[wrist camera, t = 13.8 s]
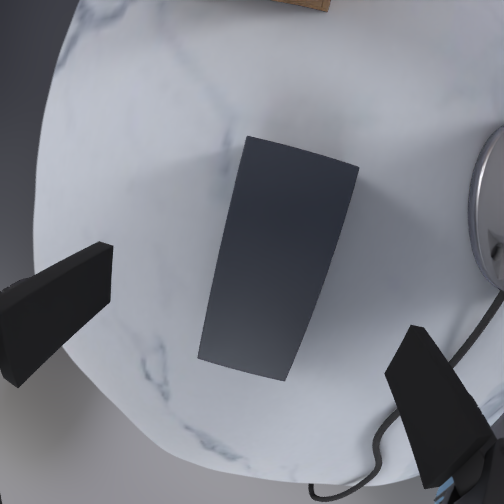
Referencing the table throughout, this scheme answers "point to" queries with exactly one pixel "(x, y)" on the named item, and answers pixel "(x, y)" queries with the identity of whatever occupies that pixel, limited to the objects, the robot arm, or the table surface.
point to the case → (274, 256)
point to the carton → (310, 3)
